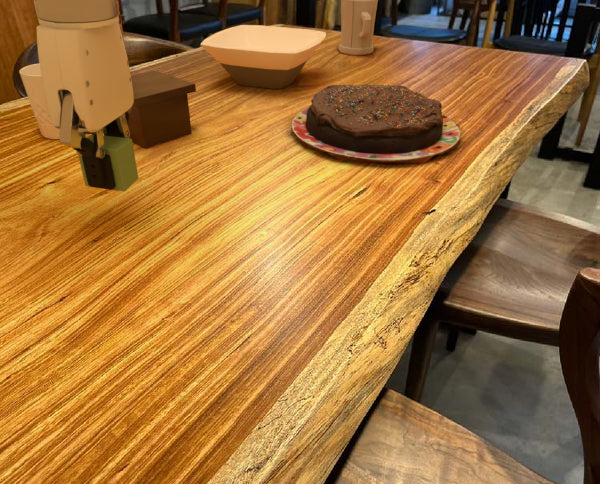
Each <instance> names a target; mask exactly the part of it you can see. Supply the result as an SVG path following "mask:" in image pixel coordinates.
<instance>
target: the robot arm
mask: <svg viewBox="0 0 600 484" xmlns="http://www.w3.org/2000/svg"><path fill="white" fill-rule="evenodd" d="M33 4H34V9H35V12H36V17H37V21H38V24H39V25H37V26H36V43H37V44H36V45H37V55H38V62H39V63H38V64H40V70H41V76H42V81H43V87H44V92H45V97H46V102H47V106H48V110H49V114H50V118H51V121H52V124H53V125H54V127H55V128H59V129H60V139H59V143H60V144H61V145H63V146H66V147H69V148H72V149H73V150H75V151H76V154H77V156H78V155H79V156H82V160H83V165H84V169H85V173H86V178H87V182H88V185H89V186H90V187H89V188H95V189H102V190H110V191H114V190H113V189H114V188H115V187H116V185H115V180H114V175H113V170H112V164H111V159H110V155H105V145H104V136H103V135H105V136H113V137H121V138H129V137H130V132H129V128H128V122H129V116H130V115H129V114H130V112H131V109H132V106H133V102H134V96H133V86H132V79H131V76H132V73H131V69H130V68H131V67H130V63H129V59H128V54H127V50H126V44H125V45H124V43H125V40H124V41H123V38H124V36H123V37H122V33H121V30H120V26H119V23H118V22H119V16H118V9H117V3H116V0H33ZM82 122H83V123H84V125H83V124H82ZM86 134H87V135H92V134H93V140H94V143H93V142H92V141H91V140H90V139H88V137H86ZM79 156H78V157H79Z"/></svg>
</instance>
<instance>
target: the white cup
mask: <svg viewBox="0 0 600 484" xmlns="http://www.w3.org/2000/svg"><path fill="white" fill-rule="evenodd" d="M18 73H19V75H20V79H21V81H22V84H23V87H24V90H25V93H26V96H27V99H28V101H29V105H30V107H31V109H32V114H33V116H34V117H35V119H36V122H37V125H38V129H39V132H40V134H41V136H42V137H44V138H45V139H50V140H60V129H59V128H55V127H54V125H53V124H52V121H51V118H50V114H49V110H48V106H47V102H46V97H45V92H44V87H43V81H42V76H41V70H40V64H39V63H34V64H29V65H26V66H24V67H22V68H20V69H19V71H18ZM82 124H83V125H85V123H84V122H82Z"/></svg>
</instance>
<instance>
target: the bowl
mask: <svg viewBox="0 0 600 484" xmlns="http://www.w3.org/2000/svg"><path fill="white" fill-rule="evenodd" d="M326 36H327V32H326V31H321V30H314V29H308V28H295V27H287V26H286V27H285V26H273V25H260V24H259V25H258V24H257V25H256V24H240V25H236V26H232V27H228V28H226V29H223V30H220V31H216V32H215V33H213V34H211V35H209V36H207V37H206V38H205V39H203V40H202V42H201V43H200V44H199V45H200V47H201V48H203V50H205V52H206V53H208V54H209V55H210V56H211V57H212V58H213V59H214V60H215V61H216V62H217V63H219V64H220V65H221V66H222V67H223V69H224V70H225V71H226V72H227V73H228V75H229V76H230V77H231V79H233V81H234V82H235V83H236V84H237V85H240V86H245V87H250V88H251V87H252V88H259V89H260V88H261V89H272V90H273V89H274V90H281V89H284V88H286V87H288V86H289V85H291V84H292V83H294V82H295V80H296V79H297V77H298V76H299V74H301V73H300V72H301V71H302V69H303V68H304V67H305V65H306V63H307V62H308V60H309V59H310V58H311V56H312V55H313V54H314V53H315V52H316V50H317V49H318V48H319V47H320V45H321V44H322V43H323V42H324V41H325V39H326Z"/></svg>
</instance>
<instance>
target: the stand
mask: <svg viewBox="0 0 600 484" xmlns="http://www.w3.org/2000/svg"><path fill="white" fill-rule="evenodd" d="M131 79H132V86H133V96H134V102H133V106H132V109H131V112H130V114H129V115H130V116H129V122H128V128H129V132H130V137H129V139H132V143H133V144H136V145H138V146H140V147H142V148H144V149H148V148H152V147H155V146H158V145H161V144H165V143H167V142H170V141H174V140H176V139H177V140H178V139H179V138H180V139H181V138H183V137H187V136H189V135H192V134H193V132H192V124H191V115H190V107H189V106H190V105H189V98H188V95H189V94H193V93H196V92H197V87H196V83H194V82H191V81H188V80H185V79H183V78H182V79H181V78H180V77H179V78H178V77H176V76H172V75H169V74H167V73H163V72H160V71H156V70H150V71H146V72H141V73H137V74H131Z"/></svg>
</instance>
